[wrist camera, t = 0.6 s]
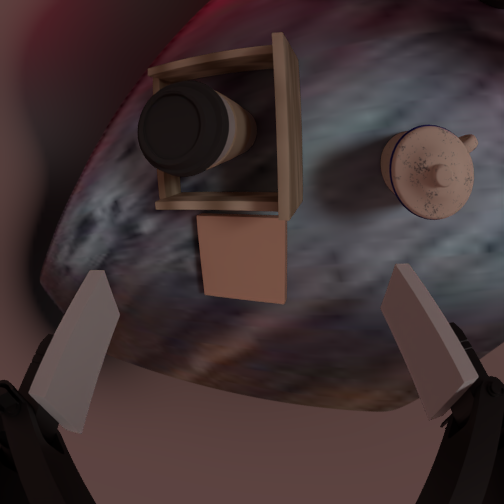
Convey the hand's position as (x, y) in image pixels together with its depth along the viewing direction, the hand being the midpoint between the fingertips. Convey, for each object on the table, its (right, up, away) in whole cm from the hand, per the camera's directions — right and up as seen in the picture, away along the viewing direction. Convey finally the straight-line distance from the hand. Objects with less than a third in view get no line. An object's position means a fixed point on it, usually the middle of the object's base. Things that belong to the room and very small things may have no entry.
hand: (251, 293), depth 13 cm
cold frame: (-3, +17, +23) cm, 29 cm away
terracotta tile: (-1, +1, +28) cm, 28 cm away
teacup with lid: (+21, +13, +17) cm, 30 cm away
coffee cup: (-3, +17, +23) cm, 29 cm away
